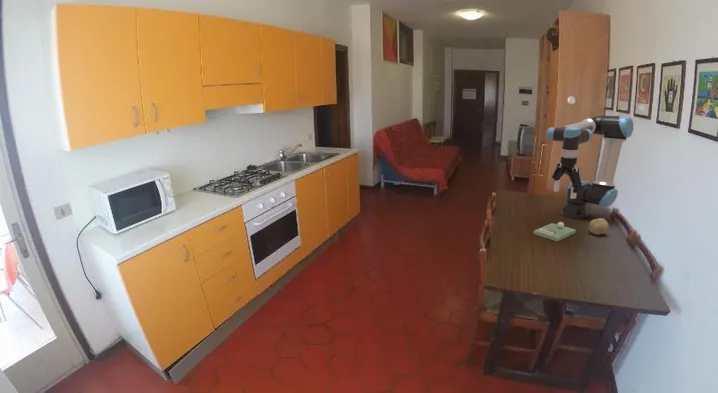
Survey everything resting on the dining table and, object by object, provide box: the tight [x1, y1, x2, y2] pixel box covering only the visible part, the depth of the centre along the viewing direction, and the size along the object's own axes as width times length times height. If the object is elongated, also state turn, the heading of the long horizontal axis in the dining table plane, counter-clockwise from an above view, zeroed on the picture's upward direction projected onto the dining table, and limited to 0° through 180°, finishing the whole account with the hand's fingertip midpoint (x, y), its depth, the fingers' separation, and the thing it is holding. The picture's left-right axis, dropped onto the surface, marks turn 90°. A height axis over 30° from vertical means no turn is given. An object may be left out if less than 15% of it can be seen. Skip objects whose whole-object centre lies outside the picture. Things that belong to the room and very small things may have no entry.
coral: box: [588, 217, 610, 236], centre depth 208 cm, size 10×10×10 cm
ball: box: [557, 221, 565, 228], centre depth 214 cm, size 4×4×4 cm
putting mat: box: [533, 222, 577, 242], centre depth 211 cm, size 20×14×4 cm
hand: (564, 194), depth 200 cm, fingers open, 13 cm apart
